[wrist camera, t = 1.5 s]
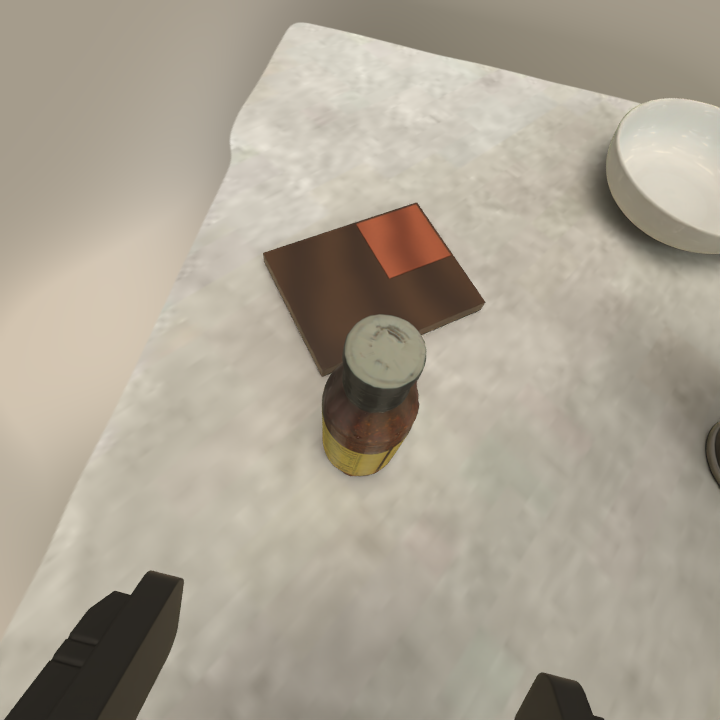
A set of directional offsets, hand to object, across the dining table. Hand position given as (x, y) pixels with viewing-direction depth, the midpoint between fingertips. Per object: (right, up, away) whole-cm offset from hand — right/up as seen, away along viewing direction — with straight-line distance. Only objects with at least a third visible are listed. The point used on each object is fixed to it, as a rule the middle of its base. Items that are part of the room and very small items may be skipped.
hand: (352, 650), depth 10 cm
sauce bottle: (0, -1, +30) cm, 30 cm away
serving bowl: (+38, +25, +46) cm, 65 cm away
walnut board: (+1, +14, +37) cm, 39 cm away
